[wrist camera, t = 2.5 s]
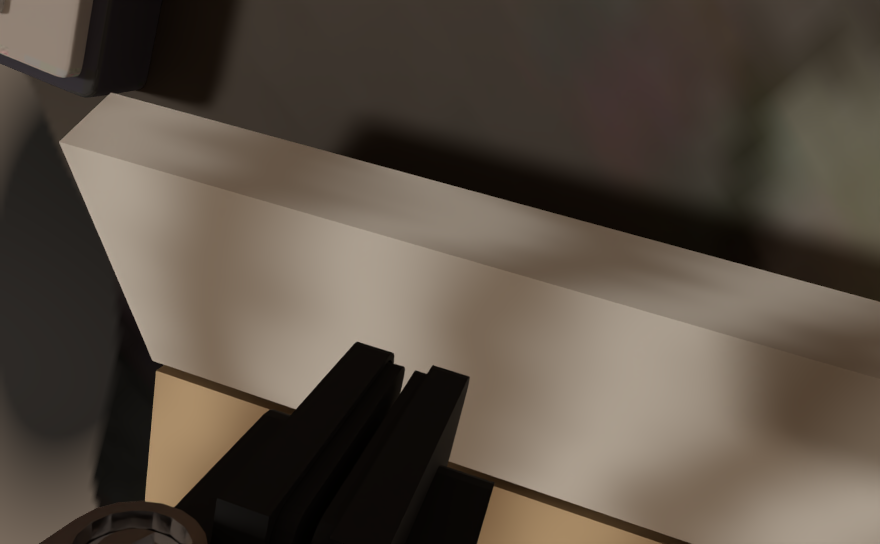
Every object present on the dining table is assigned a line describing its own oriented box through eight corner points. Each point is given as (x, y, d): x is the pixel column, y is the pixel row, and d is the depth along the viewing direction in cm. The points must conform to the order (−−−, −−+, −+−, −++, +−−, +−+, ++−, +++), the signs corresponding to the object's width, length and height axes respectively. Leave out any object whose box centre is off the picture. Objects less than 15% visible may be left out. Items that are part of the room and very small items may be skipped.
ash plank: (1090, 359, 15) (1114, 446, 14) (869, 535, 22) (872, 605, 20) (110, 92, 19) (59, 141, 17) (185, 314, 26) (152, 360, 24)
